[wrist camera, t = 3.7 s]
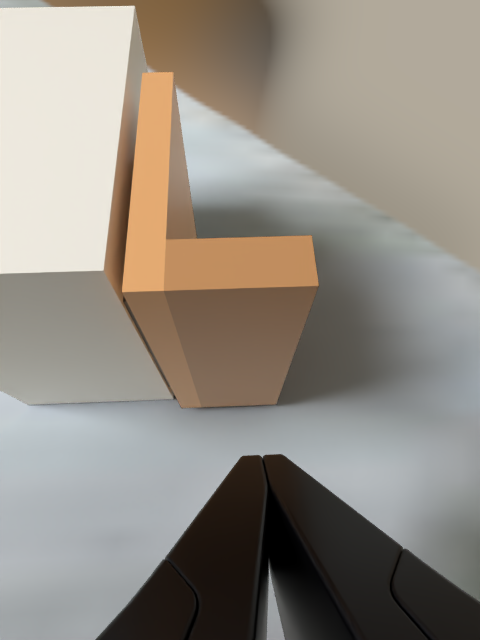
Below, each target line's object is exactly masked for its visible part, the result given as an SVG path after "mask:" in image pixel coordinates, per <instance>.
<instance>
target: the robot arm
mask: <svg viewBox="0 0 480 640" xmlns="http://www.w3.org/2000/svg"><path fill="white" fill-rule="evenodd" d="M269 568H270V574H271V579H272V584H273V588H274V592H275V597H276V601H277V606H278V610H279V615H280V619H281V623H282V628H283V632H284V637H285V640H480V602H479V601H478V600H476V599H475V598H473V597H472V596H470V595H469V594H467V593H466V592H464V591H463V590H461V589H460V588H458V587H457V586H456V585H454V584H453V583H452V582H450V581H449V580H447V579H446V578H445V577H443V576H442V575H441V574H439V573H438V572H437V571H435V570H434V569H432V568H431V567H430V566H428V565H427V564H426V563H424V562H423V561H422V560H420V559H419V558H418V557H416V556H415V555H414V554H413V553H411V552H410V551H409V550H407V549H403V548H402V546H401V545H400V544H398V543H397V542H396V541H394V540H393V539H392V538H390V537H389V536H388V535H387V534H385V533H384V532H383V531H381V530H380V529H379V528H377V527H376V526H375V525H374V524H372V523H371V522H370V521H368V520H367V519H366V518H364V517H363V516H362V515H361V514H359V513H358V512H357V511H355V510H354V509H353V508H352V507H350V506H349V505H348V504H346V503H345V502H344V501H342V500H341V499H340V498H339V497H337V496H336V495H335V494H333V493H332V492H331V491H329V490H328V489H327V488H326V487H324V486H323V485H322V484H320V483H319V482H318V481H316V480H315V479H314V478H313V477H311V476H310V475H309V474H307V473H306V472H305V471H303V470H302V469H301V468H300V467H298V466H297V465H296V464H294V463H293V462H292V461H290V460H289V459H288V458H287V457H285V456H284V455H282V454H276V455H265V456H263V458H262V457H261V456H260V455H251V456H242V457H241V458H240V459H239V460H238V462H237V463H236V464H235V466H234V467H233V468H232V470H231V471H230V472H229V474H228V475H227V476H226V478H225V479H224V480H223V482H222V483H221V484H220V486H219V487H218V488H217V490H216V491H215V492H214V494H213V495H212V496H211V498H210V499H209V500H208V502H207V503H206V504H205V505H204V507H203V508H202V509H201V511H200V512H199V513H198V515H197V516H196V517H195V519H194V520H193V521H192V523H191V524H190V525H189V527H188V528H187V529H186V531H185V532H184V533H183V535H182V536H181V537H180V539H179V540H178V541H177V543H176V544H175V545H174V547H173V548H172V549H171V551H170V552H169V553H168V555H167V556H166V557H165V559H164V560H162V561H161V563H160V564H159V565H158V567H157V568H156V569H155V571H154V572H153V573H152V575H151V576H150V577H149V578H148V580H147V581H146V582H145V583H144V585H143V586H142V587H141V588H140V590H139V591H138V592H137V593H136V595H135V596H134V597H133V598H132V599H131V601H130V602H129V603H128V604H127V605H126V607H125V608H124V609H123V610H122V611H121V612H120V613H119V614H118V615H117V616H116V618H115V619H114V620H113V621H112V622H111V623H110V624H109V625H108V626H107V628H106V629H105V630H104V631H103V632H102V633H101V634H100V635H99V636H98V637H97V638H96V639H95V640H266V638H267V612H268V585H269Z"/></svg>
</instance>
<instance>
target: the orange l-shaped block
mask: <svg viewBox="0 0 480 640" xmlns="http://www.w3.org/2000/svg"><path fill="white" fill-rule="evenodd" d="M318 287H319V283H318V276H317V269H316V262H315V255H314V248H313V241H312V235H308V236H273V237H239V238H204V239H197V235H196V228H195V221H194V214H193V207H192V200H191V193H190V186H189V179H188V172H187V165H186V158H185V151H184V144H183V137H182V130H181V123H180V116H179V109H178V102H177V95H176V88H175V81H174V74H173V72H156V73H142V81H141V92H140V102H139V113H138V124H137V135H136V145H135V156H134V167H133V177H132V188H131V199H130V210H129V220H128V231H127V242H126V252H125V263H124V274H123V285H122V293H123V295H124V297H125V299H126V301H127V303H128V305H129V307H130V309H131V311H132V313H133V315H134V317H135V319H136V321H137V323H138V325H139V326H140V328H141V330H142V332H143V334H144V336H145V338H146V340H147V342H148V344H149V346H150V348H151V350H152V352H153V354H154V356H155V358H156V359H157V361H158V363H159V365H160V367H161V369H162V371H163V373H164V375H165V377H166V379H167V381H168V383H169V385H170V387H171V389H172V391H173V392H174V394H175V396H176V398H177V400H178V402H179V404H180V406H181V408H197V407H223V406H249V405H274V404H277V401H278V398H279V395H280V393H281V390H282V387H283V384H284V381H285V379H286V376H287V373H288V370H289V367H290V365H291V362H292V359H293V356H294V354H295V351H296V348H297V345H298V342H299V340H300V337H301V334H302V331H303V329H304V326H305V323H306V320H307V317H308V315H309V312H310V309H311V306H312V303H313V301H314V298H315V295H316V292H317V290H318Z"/></svg>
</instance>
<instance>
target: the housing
mask: <svg viewBox="0 0 480 640" xmlns="http://www.w3.org/2000/svg"><path fill="white" fill-rule="evenodd" d="M142 73H148V70H147V65H146V60H145V55H144V50H143V45H142V40H141V36H140V30H139V25H138V20H137V16H136V10H135V6H113V7H112V6H108V7H107V6H106V7H39V8H0V391H2V392H4V393H6V394H8V395H10V396H12V397H14V398H16V399H17V400H19V401H21V402H23V403H25V404H27V405H39V404H65V403H91V402H117V401H143V400H169V399H174V392H173V391H172V389H171V387H170V385H169V383H168V381H167V379H166V377H165V375H164V373H163V371H162V369H161V367H160V365H159V363H158V361H157V359H156V358H155V356H154V354H153V352H152V350H151V348H150V346H149V344H148V342H147V340H146V338H145V336H144V334H143V332H142V330H141V328H140V326H139V325H138V323H137V321H136V319H135V317H134V315H133V313H132V311H131V309H130V307H129V305H128V303H127V301H126V299H125V297H124V295H123V293H122V285H123V274H124V263H125V252H126V242H127V231H128V220H129V210H130V199H131V188H132V177H133V167H134V156H135V145H136V135H137V124H138V113H139V102H140V92H141V81H142Z"/></svg>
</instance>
